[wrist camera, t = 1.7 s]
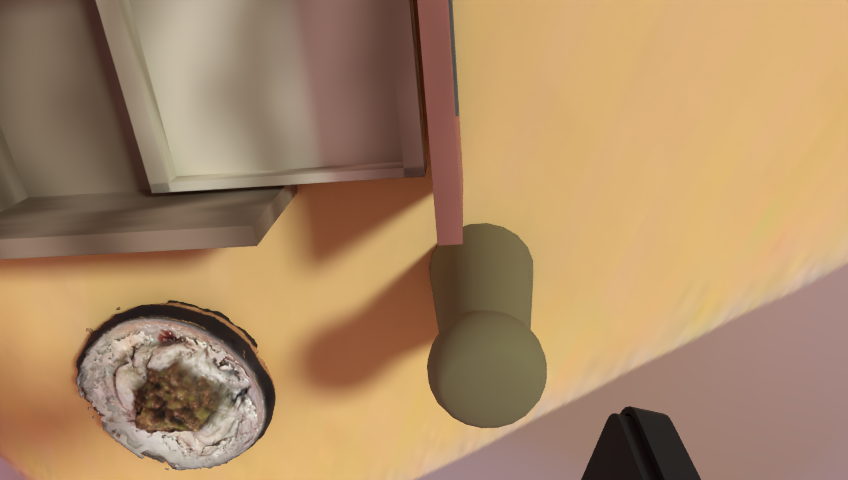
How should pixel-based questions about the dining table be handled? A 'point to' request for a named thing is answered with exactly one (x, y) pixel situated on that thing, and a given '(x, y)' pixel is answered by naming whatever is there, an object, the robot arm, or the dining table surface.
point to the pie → (177, 384)
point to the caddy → (93, 152)
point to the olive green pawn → (485, 329)
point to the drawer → (290, 93)
